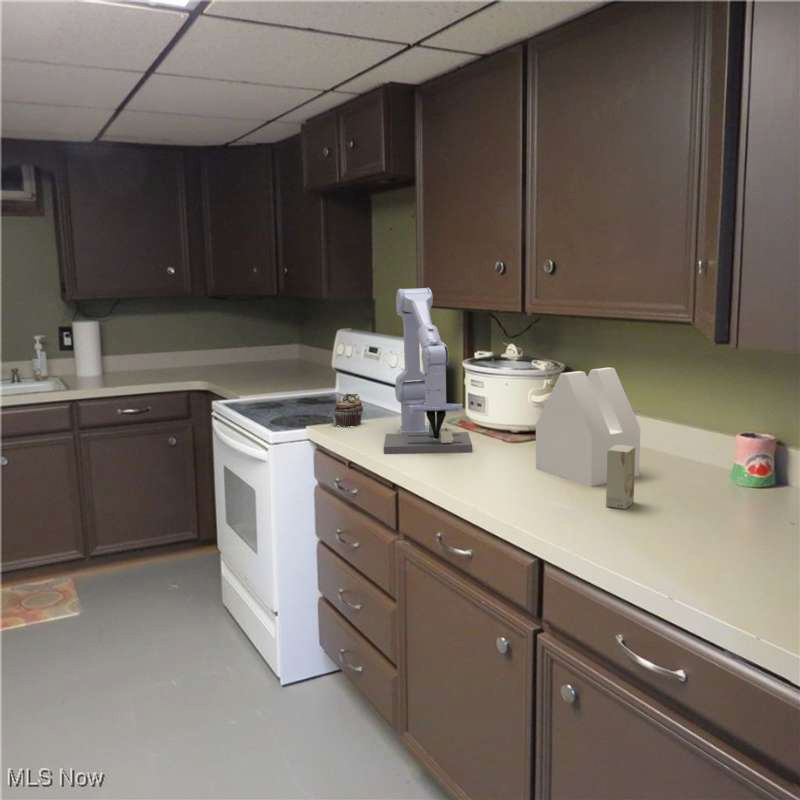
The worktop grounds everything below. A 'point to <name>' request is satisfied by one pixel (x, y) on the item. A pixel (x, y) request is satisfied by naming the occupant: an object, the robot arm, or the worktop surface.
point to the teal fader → (431, 430)
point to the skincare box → (620, 476)
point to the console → (426, 443)
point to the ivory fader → (446, 435)
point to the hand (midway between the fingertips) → (436, 437)
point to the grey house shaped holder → (585, 426)
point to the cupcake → (348, 410)
